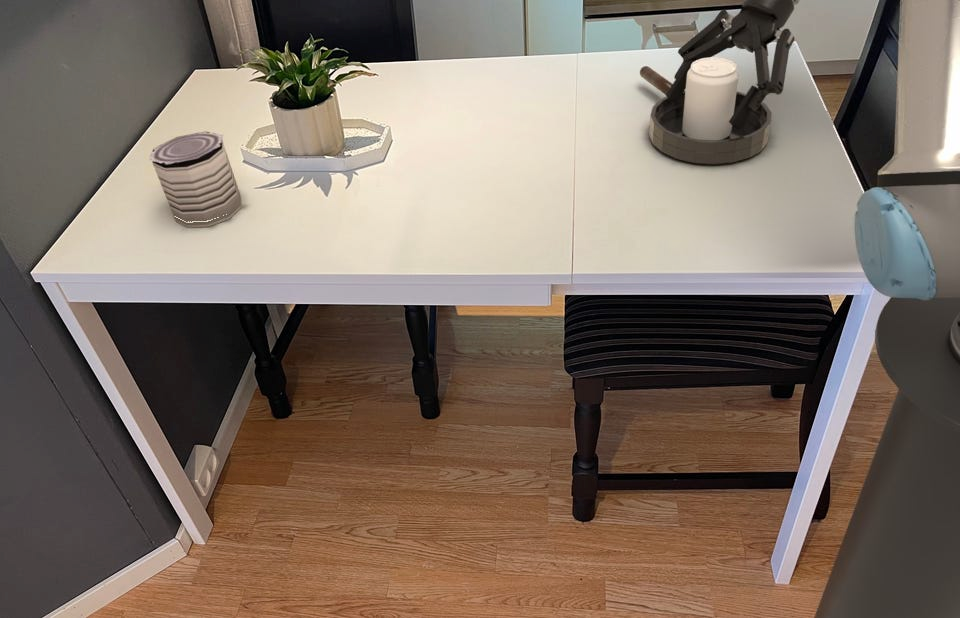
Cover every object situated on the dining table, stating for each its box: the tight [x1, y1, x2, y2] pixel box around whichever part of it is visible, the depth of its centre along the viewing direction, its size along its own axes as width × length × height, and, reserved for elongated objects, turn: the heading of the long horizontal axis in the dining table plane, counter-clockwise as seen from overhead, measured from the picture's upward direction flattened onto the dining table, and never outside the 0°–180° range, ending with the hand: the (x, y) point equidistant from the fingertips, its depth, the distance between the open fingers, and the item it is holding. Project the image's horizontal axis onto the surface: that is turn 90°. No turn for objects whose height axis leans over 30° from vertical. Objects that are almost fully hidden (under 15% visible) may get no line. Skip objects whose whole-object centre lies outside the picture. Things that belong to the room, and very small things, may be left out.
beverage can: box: [682, 56, 740, 140], centre depth 131 cm, size 8×8×12 cm
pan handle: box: [639, 65, 673, 96], centre depth 144 cm, size 13×2×2 cm, turn 20°
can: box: [148, 130, 243, 229], centre depth 127 cm, size 11×11×12 cm
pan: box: [648, 89, 772, 165], centre depth 133 cm, size 19×19×4 cm
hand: (701, 112), depth 130 cm, fingers open, 13 cm apart
